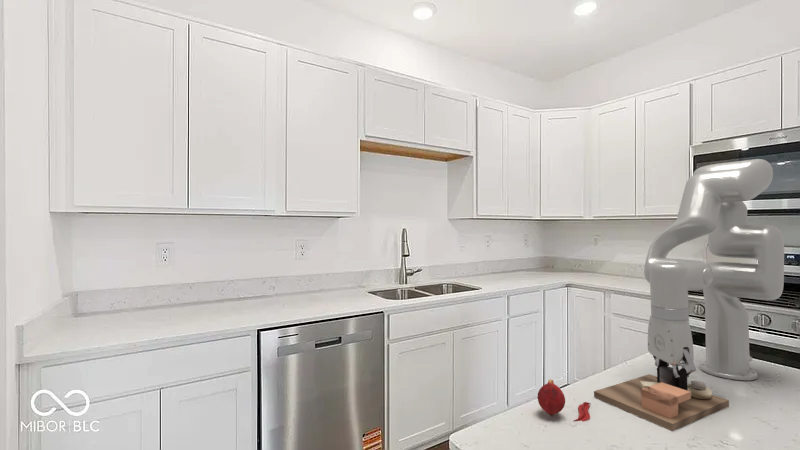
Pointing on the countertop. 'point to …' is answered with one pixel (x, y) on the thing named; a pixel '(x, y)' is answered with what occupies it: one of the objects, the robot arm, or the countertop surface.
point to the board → (630, 401)
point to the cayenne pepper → (583, 412)
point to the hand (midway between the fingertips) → (672, 387)
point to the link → (666, 378)
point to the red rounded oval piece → (551, 398)
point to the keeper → (664, 399)
